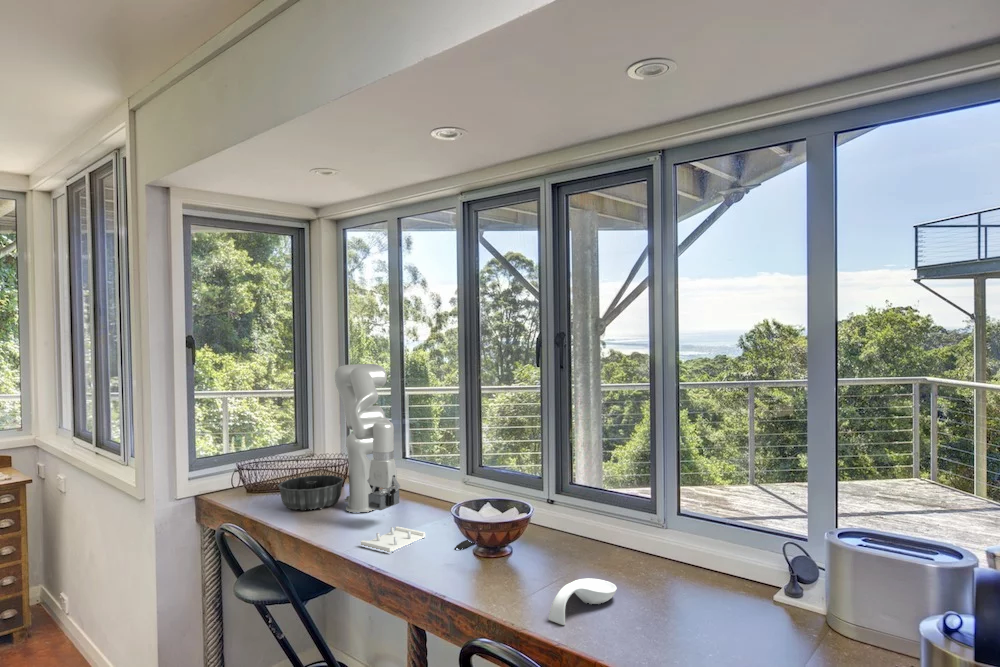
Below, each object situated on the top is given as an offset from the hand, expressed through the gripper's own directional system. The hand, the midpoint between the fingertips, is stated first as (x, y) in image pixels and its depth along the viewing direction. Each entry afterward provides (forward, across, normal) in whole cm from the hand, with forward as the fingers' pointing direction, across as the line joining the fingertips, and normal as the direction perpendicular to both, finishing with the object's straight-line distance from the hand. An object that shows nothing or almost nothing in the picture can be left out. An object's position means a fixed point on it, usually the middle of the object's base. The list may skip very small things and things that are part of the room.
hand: (383, 503), depth 228 cm
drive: (+1, 0, 0) cm, 1 cm away
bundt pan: (+11, -47, +6) cm, 49 cm away
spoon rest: (+6, +91, -22) cm, 94 cm away
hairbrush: (+8, +41, +6) cm, 42 cm away
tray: (+8, +15, -11) cm, 20 cm away
